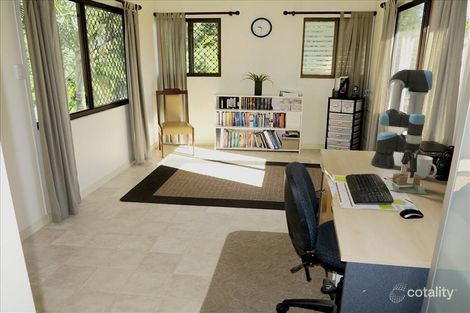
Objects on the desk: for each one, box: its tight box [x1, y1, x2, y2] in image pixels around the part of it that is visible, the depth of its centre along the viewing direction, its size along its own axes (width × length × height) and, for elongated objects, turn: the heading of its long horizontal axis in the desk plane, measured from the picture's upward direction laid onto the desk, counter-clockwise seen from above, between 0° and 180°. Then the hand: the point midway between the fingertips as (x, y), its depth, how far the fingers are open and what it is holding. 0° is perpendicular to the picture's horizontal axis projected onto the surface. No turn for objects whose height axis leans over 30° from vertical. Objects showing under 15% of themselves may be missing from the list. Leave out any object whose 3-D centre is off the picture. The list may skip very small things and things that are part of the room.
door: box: [391, 172, 422, 186], centre depth 198 cm, size 6×13×6 cm, turn 100°
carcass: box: [384, 175, 427, 195], centre depth 199 cm, size 13×19×5 cm
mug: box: [415, 154, 438, 180], centre depth 218 cm, size 15×11×13 cm
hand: (406, 179), depth 198 cm, fingers open, 13 cm apart
